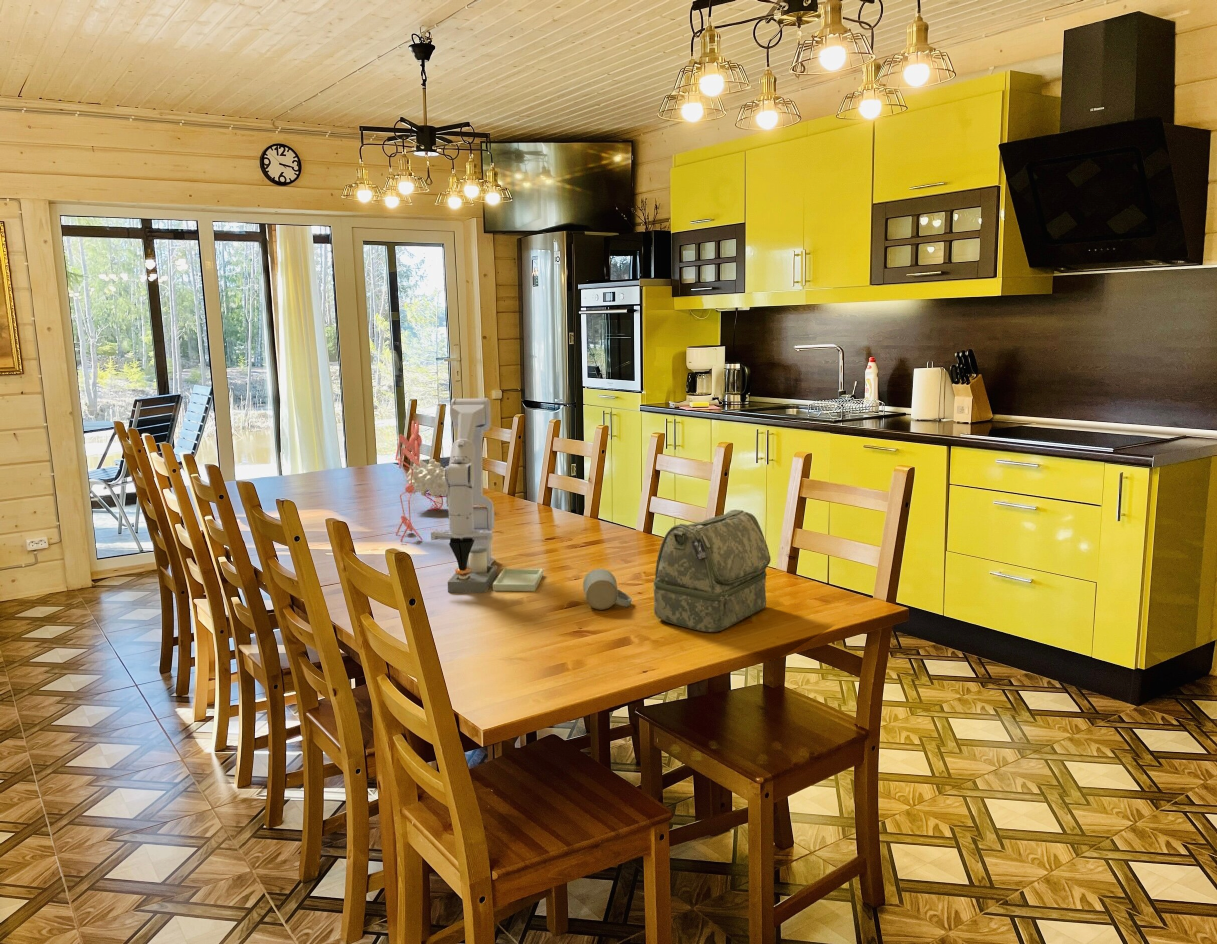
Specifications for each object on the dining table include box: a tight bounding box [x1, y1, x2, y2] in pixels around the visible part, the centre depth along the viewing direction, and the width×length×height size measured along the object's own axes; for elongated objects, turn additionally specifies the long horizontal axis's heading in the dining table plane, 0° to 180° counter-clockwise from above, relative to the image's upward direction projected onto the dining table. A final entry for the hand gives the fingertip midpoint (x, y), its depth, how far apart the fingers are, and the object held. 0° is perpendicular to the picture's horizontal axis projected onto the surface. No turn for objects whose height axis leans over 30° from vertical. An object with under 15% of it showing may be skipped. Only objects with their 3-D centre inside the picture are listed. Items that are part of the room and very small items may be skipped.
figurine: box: [394, 420, 439, 546], centre depth 269 cm, size 15×26×35 cm, turn 22°
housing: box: [447, 565, 498, 593], centre depth 220 cm, size 15×9×2 cm, turn 176°
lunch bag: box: [653, 509, 772, 633], centre depth 192 cm, size 26×18×22 cm
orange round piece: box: [455, 567, 471, 580], centre depth 216 cm, size 4×4×4 cm
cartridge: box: [469, 546, 487, 573], centre depth 223 cm, size 5×5×8 cm
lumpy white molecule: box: [406, 458, 475, 512], centre depth 310 cm, size 20×18×25 cm
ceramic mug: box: [582, 568, 632, 611], centre depth 201 cm, size 11×8×8 cm
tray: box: [492, 568, 544, 592], centre depth 220 cm, size 14×10×2 cm
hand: (463, 569), depth 215 cm, fingers closed, pressing on orange round piece
